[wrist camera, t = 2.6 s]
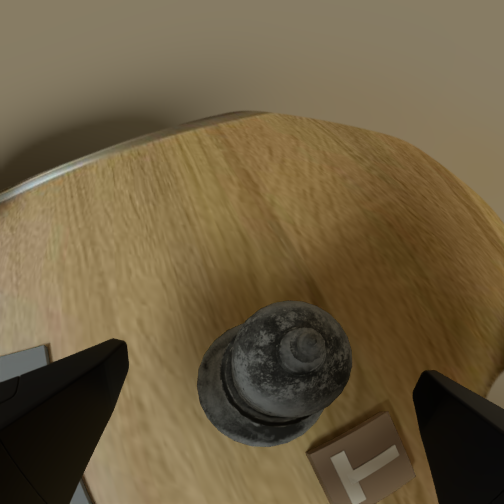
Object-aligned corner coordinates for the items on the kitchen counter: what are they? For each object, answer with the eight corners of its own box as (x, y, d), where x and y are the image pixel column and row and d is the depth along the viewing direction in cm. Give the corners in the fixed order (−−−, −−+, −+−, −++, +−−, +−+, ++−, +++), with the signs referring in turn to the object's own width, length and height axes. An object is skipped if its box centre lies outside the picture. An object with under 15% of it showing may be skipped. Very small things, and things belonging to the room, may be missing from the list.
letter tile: (403, 473, 13) (417, 476, 12) (334, 514, 12) (343, 522, 11) (376, 412, 15) (388, 411, 14) (303, 451, 14) (310, 454, 13)
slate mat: (103, 526, 10) (100, 527, 10) (-17, 514, 7) (-20, 515, 7) (47, 346, 15) (43, 345, 15) (-53, 371, 13) (-56, 370, 12)
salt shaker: (253, 317, 18) (284, 165, 7) (330, 381, 16) (478, 313, 5) (182, 390, 15) (82, 343, 5) (263, 459, 14) (329, 550, 3)
